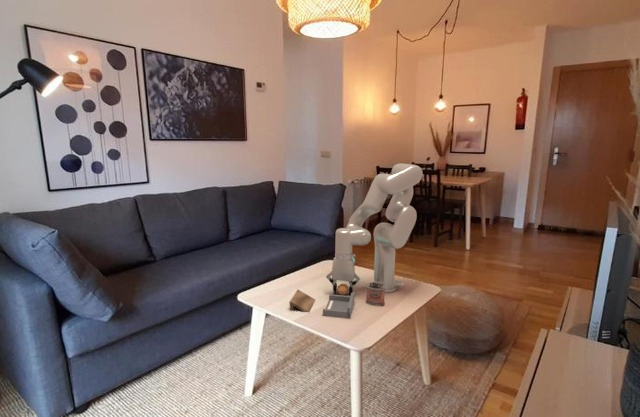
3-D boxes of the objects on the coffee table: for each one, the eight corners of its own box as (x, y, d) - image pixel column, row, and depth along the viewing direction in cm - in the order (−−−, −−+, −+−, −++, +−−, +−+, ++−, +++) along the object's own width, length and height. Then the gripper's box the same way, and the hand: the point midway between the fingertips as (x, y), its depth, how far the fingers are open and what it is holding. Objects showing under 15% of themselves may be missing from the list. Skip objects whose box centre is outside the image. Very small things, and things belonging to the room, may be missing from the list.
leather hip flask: (365, 303, 152) (365, 281, 150) (366, 300, 155) (367, 279, 153) (383, 306, 149) (384, 284, 148) (385, 303, 153) (386, 281, 151)
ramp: (315, 301, 156) (315, 291, 155) (309, 314, 144) (309, 303, 143) (296, 299, 157) (296, 289, 157) (289, 312, 146) (289, 301, 145)
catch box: (354, 301, 154) (354, 292, 153) (350, 318, 139) (350, 308, 138) (329, 299, 156) (329, 290, 155) (322, 315, 141) (322, 305, 141)
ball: (348, 292, 163) (349, 282, 162) (347, 297, 158) (347, 286, 157) (338, 291, 164) (338, 281, 163) (336, 296, 159) (336, 285, 158)
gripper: (363, 254, 159) (362, 291, 163) (326, 252, 163) (325, 288, 166) (362, 260, 152) (360, 298, 156) (323, 257, 156) (322, 295, 159)
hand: (342, 293), depth 161 cm, fingers open, 6 cm apart
